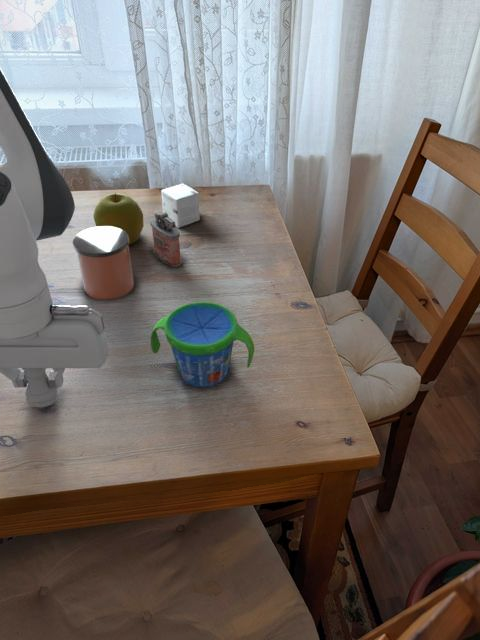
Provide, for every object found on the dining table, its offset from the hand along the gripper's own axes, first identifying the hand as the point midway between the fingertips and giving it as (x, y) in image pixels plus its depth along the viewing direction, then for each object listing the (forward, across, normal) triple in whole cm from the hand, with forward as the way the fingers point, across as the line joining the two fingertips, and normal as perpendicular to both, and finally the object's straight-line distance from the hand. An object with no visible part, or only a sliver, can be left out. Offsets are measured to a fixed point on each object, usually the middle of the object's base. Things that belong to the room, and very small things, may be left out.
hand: (39, 384), depth 73 cm
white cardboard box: (+4, -16, -55) cm, 58 cm away
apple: (+4, -4, -46) cm, 47 cm away
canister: (+4, -4, -29) cm, 30 cm away
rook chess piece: (+3, 0, 0) cm, 3 cm away
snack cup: (+4, -23, -6) cm, 24 cm away
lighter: (+4, -14, -39) cm, 42 cm away
